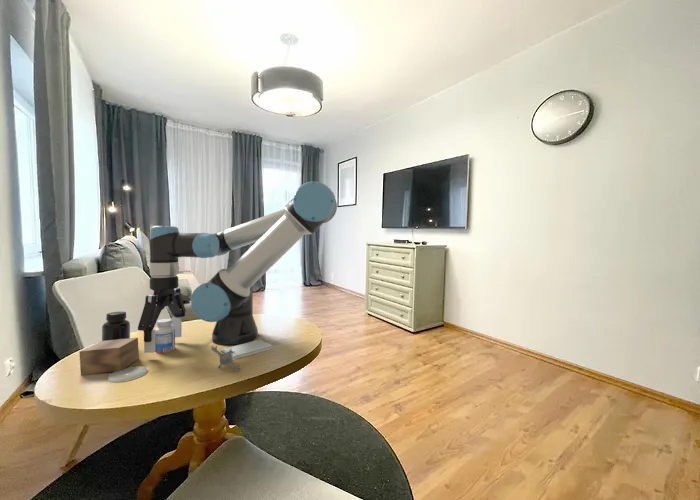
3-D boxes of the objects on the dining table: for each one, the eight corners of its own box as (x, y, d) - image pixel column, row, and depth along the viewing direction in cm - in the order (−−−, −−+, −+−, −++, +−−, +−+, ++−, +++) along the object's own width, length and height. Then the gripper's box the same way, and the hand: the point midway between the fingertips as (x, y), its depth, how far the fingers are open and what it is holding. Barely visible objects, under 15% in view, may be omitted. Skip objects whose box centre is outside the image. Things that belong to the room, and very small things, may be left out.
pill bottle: (161, 348, 95) (161, 317, 94) (178, 348, 95) (178, 317, 95) (150, 354, 89) (150, 322, 89) (168, 354, 89) (168, 322, 89)
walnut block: (138, 358, 85) (137, 337, 85) (120, 370, 76) (119, 347, 76) (103, 362, 83) (102, 340, 83) (80, 375, 75) (79, 351, 74)
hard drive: (259, 339, 101) (222, 348, 92) (271, 345, 95) (234, 355, 86) (259, 343, 101) (222, 353, 92) (271, 350, 95) (234, 361, 86)
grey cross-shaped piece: (249, 360, 86) (247, 361, 78) (233, 378, 83) (230, 381, 75) (222, 338, 86) (218, 337, 78) (206, 356, 83) (200, 356, 75)
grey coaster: (154, 369, 79) (154, 366, 79) (132, 383, 71) (132, 380, 71) (124, 369, 79) (124, 366, 79) (99, 383, 71) (99, 380, 71)
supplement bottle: (114, 356, 87) (114, 316, 87) (96, 354, 89) (95, 315, 88) (135, 348, 94) (135, 311, 94) (118, 346, 95) (117, 309, 95)
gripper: (175, 271, 104) (175, 331, 104) (121, 281, 79) (121, 359, 79) (196, 271, 104) (196, 331, 104) (149, 281, 79) (150, 360, 79)
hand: (164, 344), depth 92 cm, fingers open, 13 cm apart
